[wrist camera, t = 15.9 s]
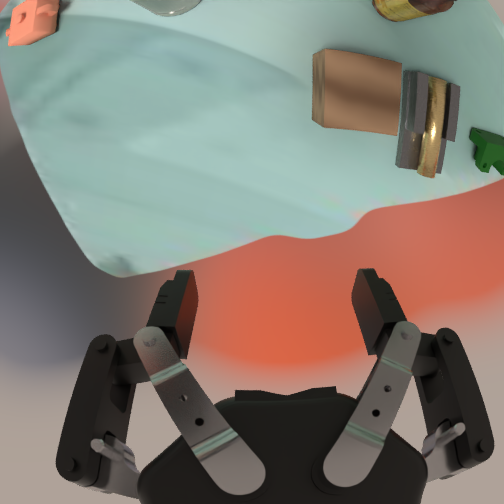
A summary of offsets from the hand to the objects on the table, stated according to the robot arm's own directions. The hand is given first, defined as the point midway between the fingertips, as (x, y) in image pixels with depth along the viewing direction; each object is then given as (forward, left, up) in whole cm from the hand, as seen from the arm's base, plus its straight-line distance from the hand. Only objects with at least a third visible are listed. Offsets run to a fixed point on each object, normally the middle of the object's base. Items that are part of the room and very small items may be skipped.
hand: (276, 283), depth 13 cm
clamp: (-4, +43, -30) cm, 53 cm away
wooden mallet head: (-9, +12, -30) cm, 34 cm away
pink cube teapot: (-30, -37, -30) cm, 57 cm away
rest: (-6, +26, -30) cm, 40 cm away
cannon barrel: (-6, +26, -29) cm, 39 cm away
